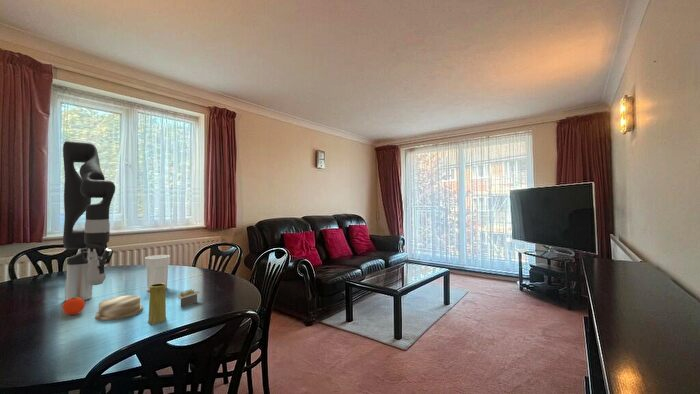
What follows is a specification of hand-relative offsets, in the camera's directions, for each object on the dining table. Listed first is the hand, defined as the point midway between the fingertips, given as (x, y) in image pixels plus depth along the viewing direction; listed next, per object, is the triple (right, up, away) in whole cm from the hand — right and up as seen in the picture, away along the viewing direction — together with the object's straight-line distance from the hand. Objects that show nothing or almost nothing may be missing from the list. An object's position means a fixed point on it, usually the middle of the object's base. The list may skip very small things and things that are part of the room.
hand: (96, 274), depth 117 cm
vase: (+23, -19, +1) cm, 30 cm away
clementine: (-16, -19, +7) cm, 25 cm away
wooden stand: (+2, -19, +9) cm, 21 cm away
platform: (+25, -20, +21) cm, 38 cm away
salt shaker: (0, -4, 0) cm, 4 cm away
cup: (-3, -19, +42) cm, 46 cm away
